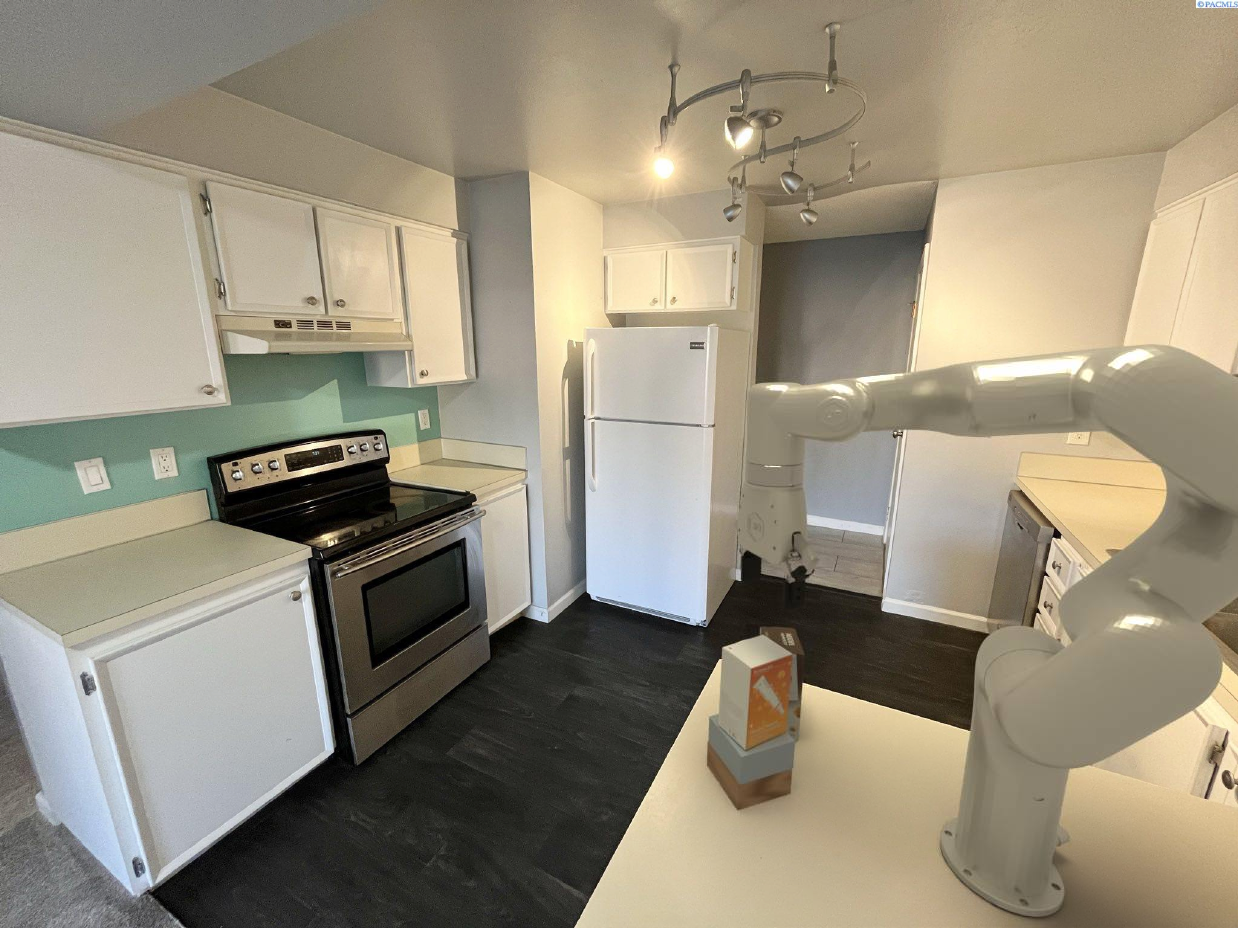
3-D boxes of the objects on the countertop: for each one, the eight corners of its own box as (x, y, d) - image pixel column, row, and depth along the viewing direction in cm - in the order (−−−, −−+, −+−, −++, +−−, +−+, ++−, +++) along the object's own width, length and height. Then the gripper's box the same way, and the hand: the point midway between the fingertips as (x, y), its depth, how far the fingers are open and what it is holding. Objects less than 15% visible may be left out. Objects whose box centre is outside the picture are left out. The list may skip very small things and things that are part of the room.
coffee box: (800, 742, 87) (806, 655, 84) (760, 738, 88) (765, 652, 85) (790, 707, 96) (795, 627, 93) (754, 704, 97) (758, 624, 94)
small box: (745, 752, 73) (750, 668, 70) (717, 724, 78) (720, 646, 76) (787, 733, 77) (793, 653, 74) (757, 708, 82) (762, 633, 80)
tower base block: (755, 752, 85) (756, 728, 84) (790, 794, 77) (792, 768, 76) (706, 766, 82) (707, 741, 81) (737, 811, 74) (738, 784, 73)
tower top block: (757, 728, 84) (758, 703, 83) (793, 768, 76) (795, 740, 75) (708, 741, 81) (709, 716, 80) (740, 784, 73) (741, 756, 72)
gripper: (717, 466, 77) (716, 575, 80) (792, 490, 61) (787, 625, 64) (760, 462, 79) (757, 567, 83) (843, 484, 63) (836, 614, 66)
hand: (770, 592), depth 73 cm, fingers open, 9 cm apart
